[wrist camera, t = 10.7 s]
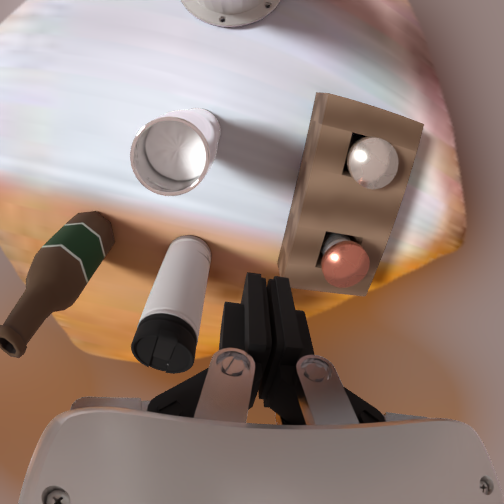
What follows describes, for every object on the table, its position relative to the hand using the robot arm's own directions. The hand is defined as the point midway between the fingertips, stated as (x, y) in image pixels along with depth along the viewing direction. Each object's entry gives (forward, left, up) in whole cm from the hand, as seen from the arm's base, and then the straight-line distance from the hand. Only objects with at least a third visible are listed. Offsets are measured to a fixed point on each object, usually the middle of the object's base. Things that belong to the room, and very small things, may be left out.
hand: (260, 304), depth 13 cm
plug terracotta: (+9, +12, -28) cm, 32 cm away
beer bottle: (+14, -21, -29) cm, 39 cm away
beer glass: (-2, -7, -29) cm, 30 cm away
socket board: (+3, +13, -29) cm, 32 cm away
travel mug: (+15, -6, -29) cm, 33 cm away
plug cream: (-3, +12, -29) cm, 32 cm away
